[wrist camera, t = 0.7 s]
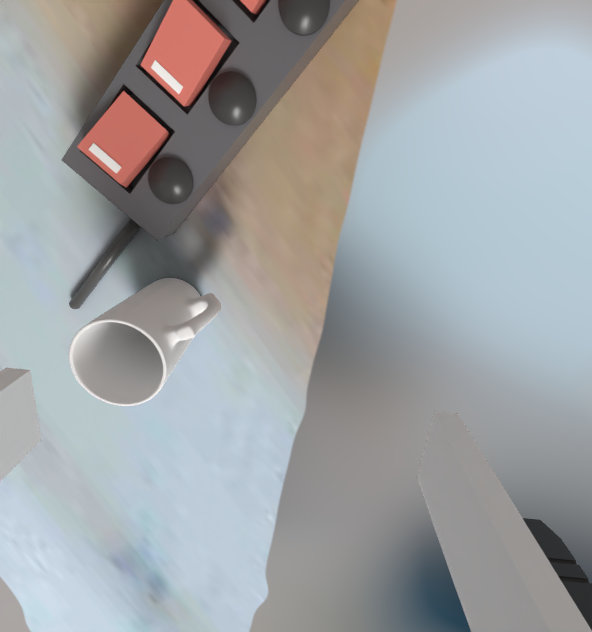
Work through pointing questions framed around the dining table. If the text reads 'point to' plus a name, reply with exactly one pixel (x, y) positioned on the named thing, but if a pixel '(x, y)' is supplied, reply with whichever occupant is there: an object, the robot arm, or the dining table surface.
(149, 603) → the dining table surface
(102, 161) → the rocker
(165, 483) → the dining table surface
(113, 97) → the switch panel
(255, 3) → the rocker
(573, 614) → the robot arm
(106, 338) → the mug
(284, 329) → the dining table surface
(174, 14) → the rocker
